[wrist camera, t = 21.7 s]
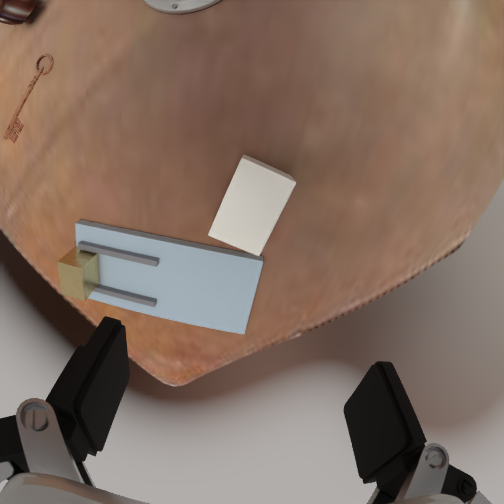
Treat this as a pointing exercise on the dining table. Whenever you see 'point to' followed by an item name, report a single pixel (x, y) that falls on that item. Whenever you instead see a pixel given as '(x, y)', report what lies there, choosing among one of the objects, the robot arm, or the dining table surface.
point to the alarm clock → (16, 11)
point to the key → (30, 87)
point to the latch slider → (79, 273)
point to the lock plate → (172, 276)
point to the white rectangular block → (252, 205)
